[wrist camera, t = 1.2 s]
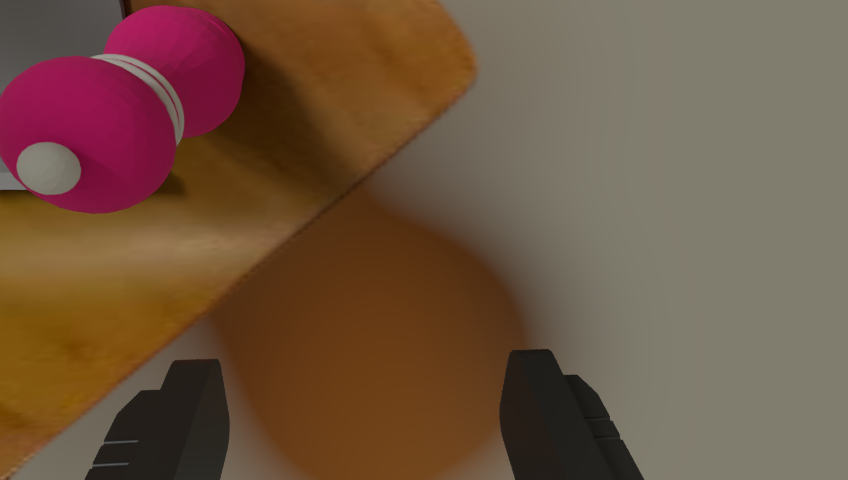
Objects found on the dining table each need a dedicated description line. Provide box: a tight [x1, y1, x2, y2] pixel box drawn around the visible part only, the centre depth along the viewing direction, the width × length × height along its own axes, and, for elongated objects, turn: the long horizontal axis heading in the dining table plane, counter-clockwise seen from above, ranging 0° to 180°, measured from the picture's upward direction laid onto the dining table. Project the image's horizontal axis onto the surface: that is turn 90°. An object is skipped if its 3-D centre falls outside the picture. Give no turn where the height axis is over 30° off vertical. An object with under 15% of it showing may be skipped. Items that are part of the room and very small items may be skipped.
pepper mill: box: [0, 5, 245, 214], centre depth 26 cm, size 7×7×20 cm
